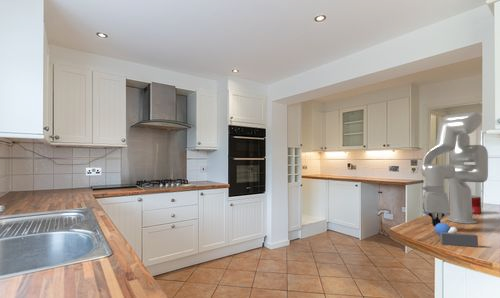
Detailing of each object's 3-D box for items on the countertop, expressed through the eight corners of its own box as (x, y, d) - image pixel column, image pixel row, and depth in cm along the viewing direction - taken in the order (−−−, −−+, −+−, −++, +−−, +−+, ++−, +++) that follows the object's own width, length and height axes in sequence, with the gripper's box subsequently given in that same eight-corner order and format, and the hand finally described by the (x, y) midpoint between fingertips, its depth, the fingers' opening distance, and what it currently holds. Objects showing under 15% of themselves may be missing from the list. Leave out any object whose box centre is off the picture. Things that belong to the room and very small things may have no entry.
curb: (440, 242, 106) (439, 232, 106) (475, 245, 102) (474, 234, 103) (442, 244, 104) (441, 233, 104) (478, 247, 101) (477, 235, 101)
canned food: (484, 214, 156) (483, 196, 156) (469, 214, 158) (468, 196, 158) (476, 212, 163) (475, 195, 164) (461, 211, 165) (461, 194, 165)
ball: (447, 240, 111) (443, 239, 116) (456, 229, 111) (452, 229, 116) (433, 230, 114) (430, 229, 119) (442, 220, 113) (439, 219, 119)
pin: (447, 232, 112) (451, 225, 106) (453, 236, 111) (458, 229, 105) (445, 237, 112) (449, 230, 106) (451, 240, 110) (455, 233, 104)
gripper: (419, 190, 125) (421, 227, 124) (456, 190, 120) (458, 230, 119) (415, 188, 132) (416, 224, 131) (449, 189, 127) (451, 225, 127)
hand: (436, 226), depth 125 cm, fingers closed
